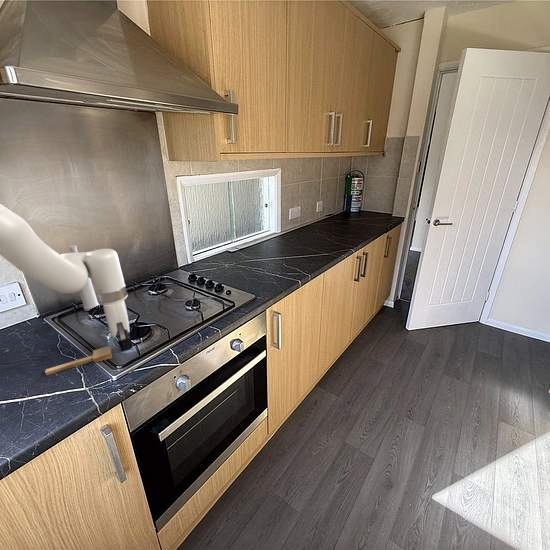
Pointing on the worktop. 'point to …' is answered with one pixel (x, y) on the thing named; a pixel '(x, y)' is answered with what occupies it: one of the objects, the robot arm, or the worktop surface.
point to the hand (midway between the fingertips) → (126, 348)
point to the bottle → (86, 290)
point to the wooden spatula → (83, 360)
